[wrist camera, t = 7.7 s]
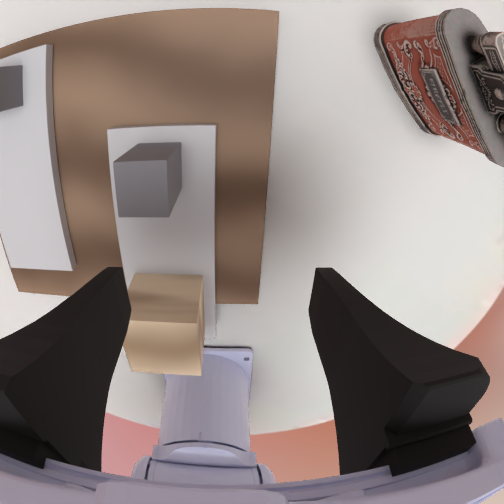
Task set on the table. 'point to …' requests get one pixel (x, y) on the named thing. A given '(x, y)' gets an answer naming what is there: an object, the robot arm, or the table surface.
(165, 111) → the walnut board
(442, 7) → the table surface
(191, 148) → the strip
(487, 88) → the lighter
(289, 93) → the table surface
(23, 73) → the empty strip
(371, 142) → the table surface
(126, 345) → the oak block
